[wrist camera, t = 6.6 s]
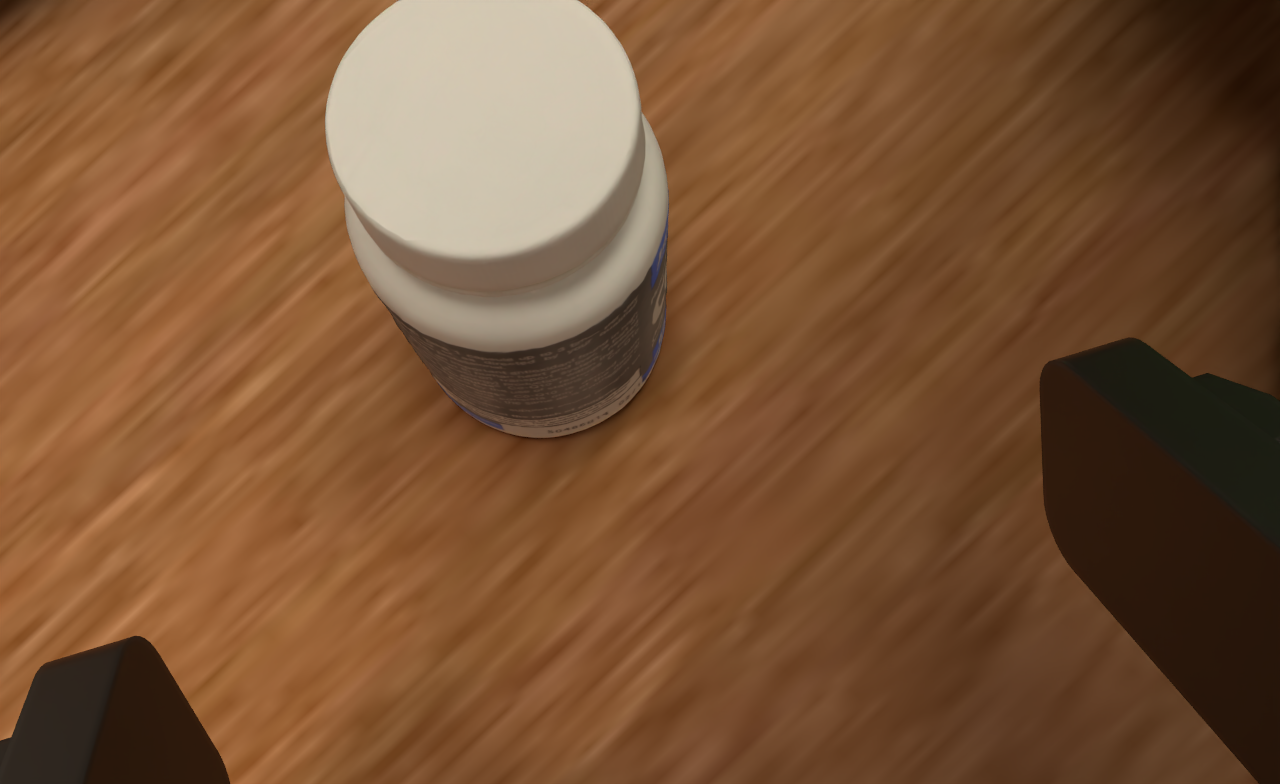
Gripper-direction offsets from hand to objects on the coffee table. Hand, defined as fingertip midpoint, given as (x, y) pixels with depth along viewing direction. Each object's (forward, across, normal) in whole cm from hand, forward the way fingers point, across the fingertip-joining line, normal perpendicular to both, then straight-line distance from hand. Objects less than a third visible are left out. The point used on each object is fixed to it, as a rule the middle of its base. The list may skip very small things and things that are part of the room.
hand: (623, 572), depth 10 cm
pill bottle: (+12, 0, +4) cm, 13 cm away
